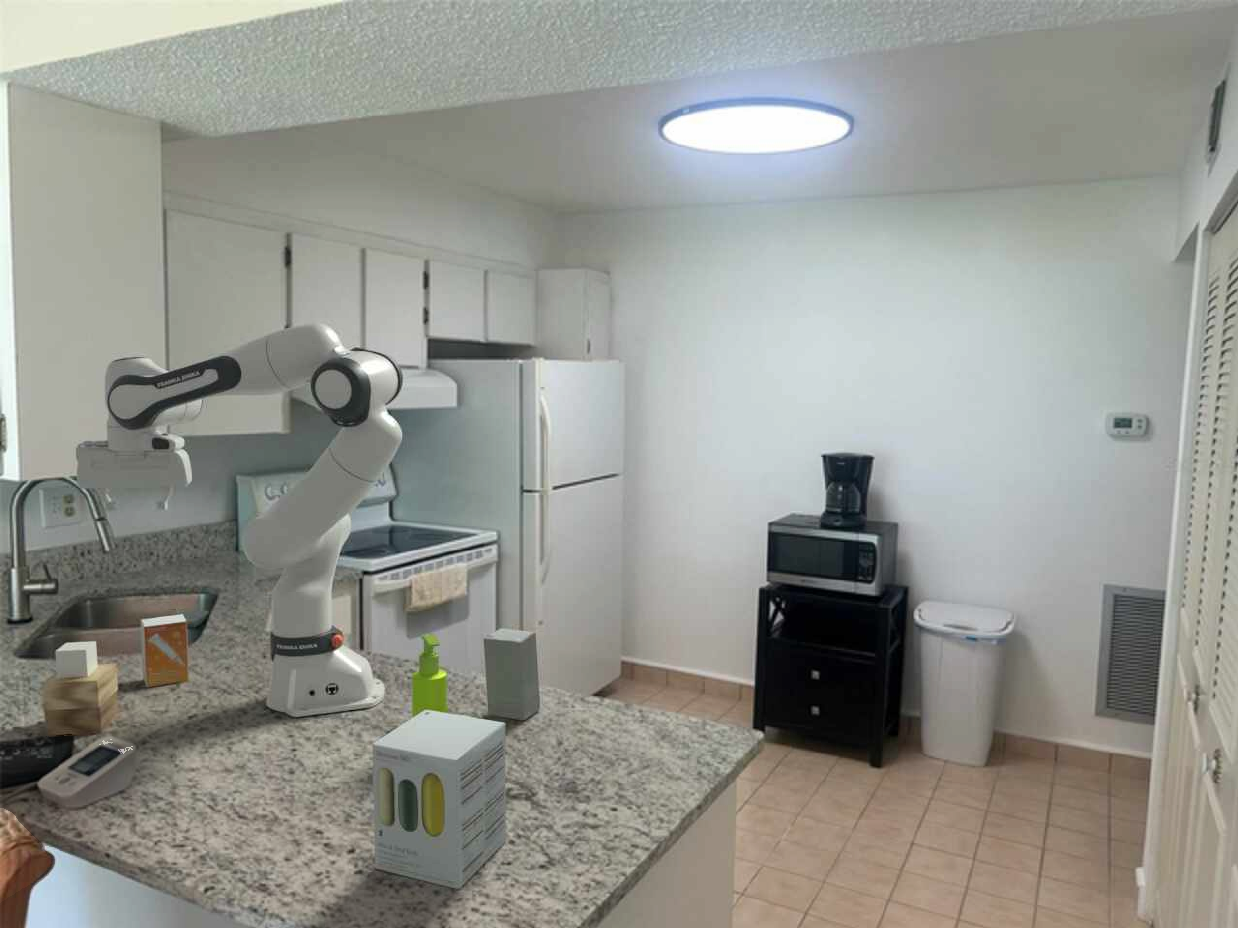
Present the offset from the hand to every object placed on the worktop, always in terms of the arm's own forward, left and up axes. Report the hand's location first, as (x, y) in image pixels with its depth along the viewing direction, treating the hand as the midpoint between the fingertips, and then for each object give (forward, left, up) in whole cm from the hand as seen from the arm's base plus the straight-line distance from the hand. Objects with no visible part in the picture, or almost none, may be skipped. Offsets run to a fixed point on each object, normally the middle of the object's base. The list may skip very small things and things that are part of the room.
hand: (136, 510), depth 177 cm
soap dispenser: (-57, +37, -37) cm, 78 cm away
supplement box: (-59, +72, -37) cm, 100 cm away
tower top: (+6, +16, -32) cm, 37 cm away
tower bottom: (+6, +16, -37) cm, 41 cm away
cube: (+6, +16, -27) cm, 32 cm away
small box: (-2, -6, -37) cm, 38 cm away
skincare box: (-72, +24, -37) cm, 85 cm away
